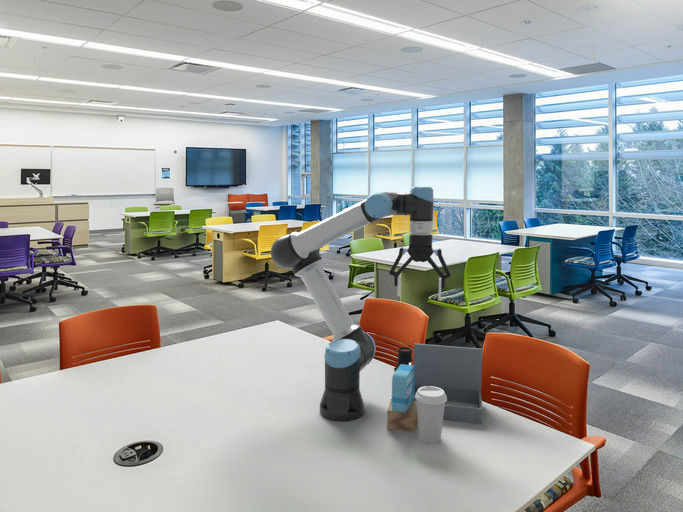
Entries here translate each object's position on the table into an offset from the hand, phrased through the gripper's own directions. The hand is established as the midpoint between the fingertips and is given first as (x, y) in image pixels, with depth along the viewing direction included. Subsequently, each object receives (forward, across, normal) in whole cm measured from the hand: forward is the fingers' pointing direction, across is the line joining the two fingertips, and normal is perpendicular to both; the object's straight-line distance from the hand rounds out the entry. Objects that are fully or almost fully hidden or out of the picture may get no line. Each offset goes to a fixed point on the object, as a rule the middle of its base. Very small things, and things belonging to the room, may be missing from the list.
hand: (419, 296), depth 170 cm
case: (+39, +10, 0) cm, 40 cm away
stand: (+39, -3, -14) cm, 41 cm away
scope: (+39, -5, +19) cm, 44 cm away
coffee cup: (+39, +6, -22) cm, 45 cm away
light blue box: (+33, -3, -14) cm, 36 cm away
